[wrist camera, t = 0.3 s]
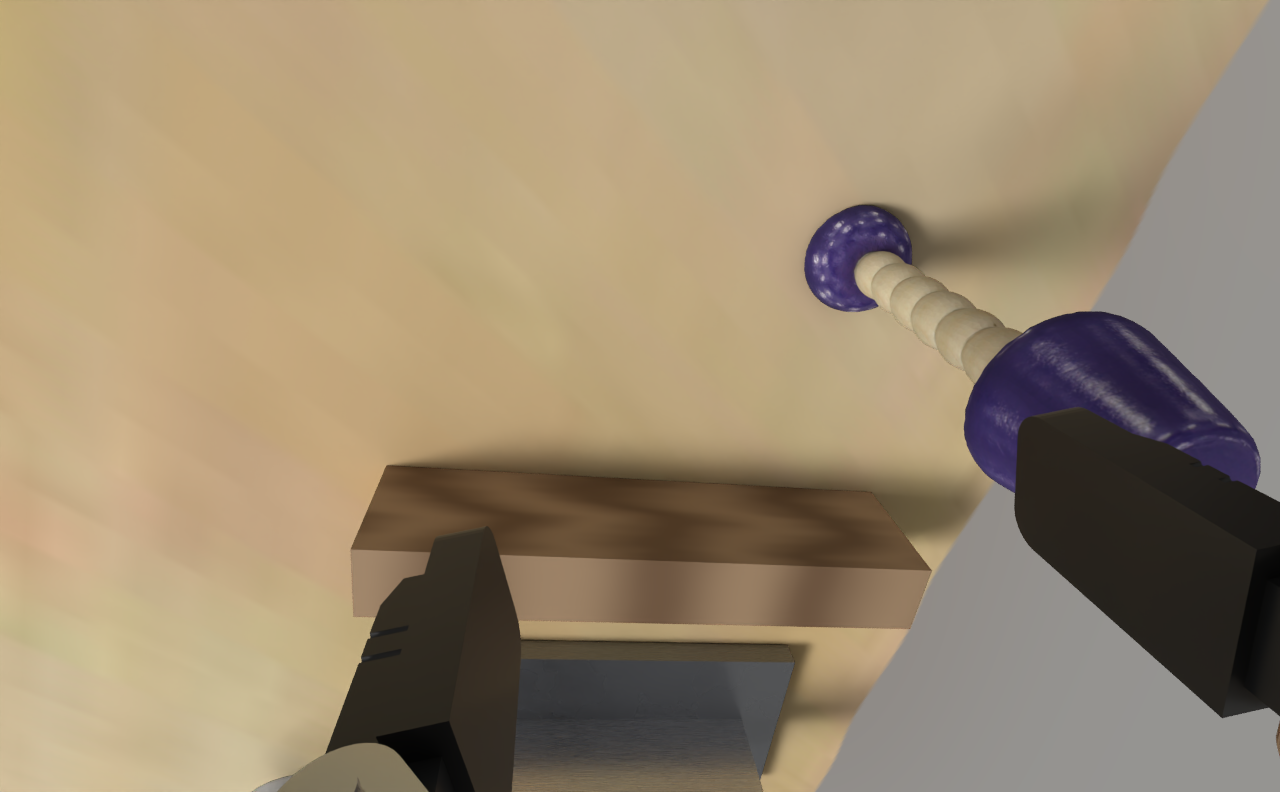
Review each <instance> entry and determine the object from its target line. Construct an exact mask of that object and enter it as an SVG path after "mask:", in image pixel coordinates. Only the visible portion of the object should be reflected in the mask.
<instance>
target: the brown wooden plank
mask: <svg viewBox="0 0 1280 792" xmlns="http://www.w3.org/2000/svg"><path fill="white" fill-rule="evenodd" d="M484 526H488V527H489V528H490V529H491V531H492V533H493V535H494V538H495V541H496V545H497V548H498V552H499V555H500V558H501V562H502V565H503V569H504V572H505V575H506V579H507V582H508V586H509V589H510V593H511V596H512V599H513V603H514V606H515V610H516V614H517V618H518V620H523V621H569V622H615V623H660V624H706V625H752V626H797V627H843V628H889V629H910V628H911V625H912V622H913V620H914V617H915V614H916V612H917V609H918V606H919V604H920V601H921V598H922V596H923V593H924V590H925V588H926V585H927V582H928V580H929V577H930V574H931V572H932V570H931V569H930V568H929V566H928V565H927V564H926V563H925V561H924V560H923V559H922V557H921V556H920V555H919V553H918V552H917V551H916V550H915V548H914V547H913V546H912V544H911V543H910V542H909V540H908V539H907V538H906V537H905V535H904V534H903V533H902V531H901V530H900V529H899V527H898V526H897V525H896V524H895V522H894V521H893V520H892V518H891V517H890V516H889V514H888V513H887V512H886V511H885V509H884V508H883V507H882V505H881V504H880V503H879V501H878V500H877V499H876V498H875V496H874V495H873V494H872V492H859V491H841V490H822V489H804V488H786V487H768V486H750V485H732V484H714V483H695V482H677V481H659V480H641V479H623V478H605V477H586V476H568V475H550V474H532V473H514V472H496V471H477V470H459V469H441V468H423V467H405V466H386V468H385V470H384V473H383V475H382V477H381V480H380V482H379V484H378V487H377V489H376V491H375V494H374V496H373V498H372V501H371V503H370V505H369V508H368V510H367V512H366V515H365V517H364V519H363V522H362V524H361V526H360V529H359V531H358V533H357V536H356V538H355V540H354V543H353V545H352V547H351V571H352V594H353V617H376V616H377V613H378V610H379V607H380V605H381V604H382V603H383V602H384V600H385V599H386V598H387V597H388V596H389V595H390V594H391V592H392V591H393V590H394V589H395V588H396V587H397V586H398V584H399V583H400V582H401V581H402V580H403V579H404V578H408V577H413V576H417V575H422V574H424V573H425V569H426V566H427V563H428V559H429V556H430V553H431V549H432V546H433V542H434V540H435V538H436V537H437V536H440V535H445V534H450V533H455V532H460V531H465V530H470V529H475V528H480V527H484Z"/></svg>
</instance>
